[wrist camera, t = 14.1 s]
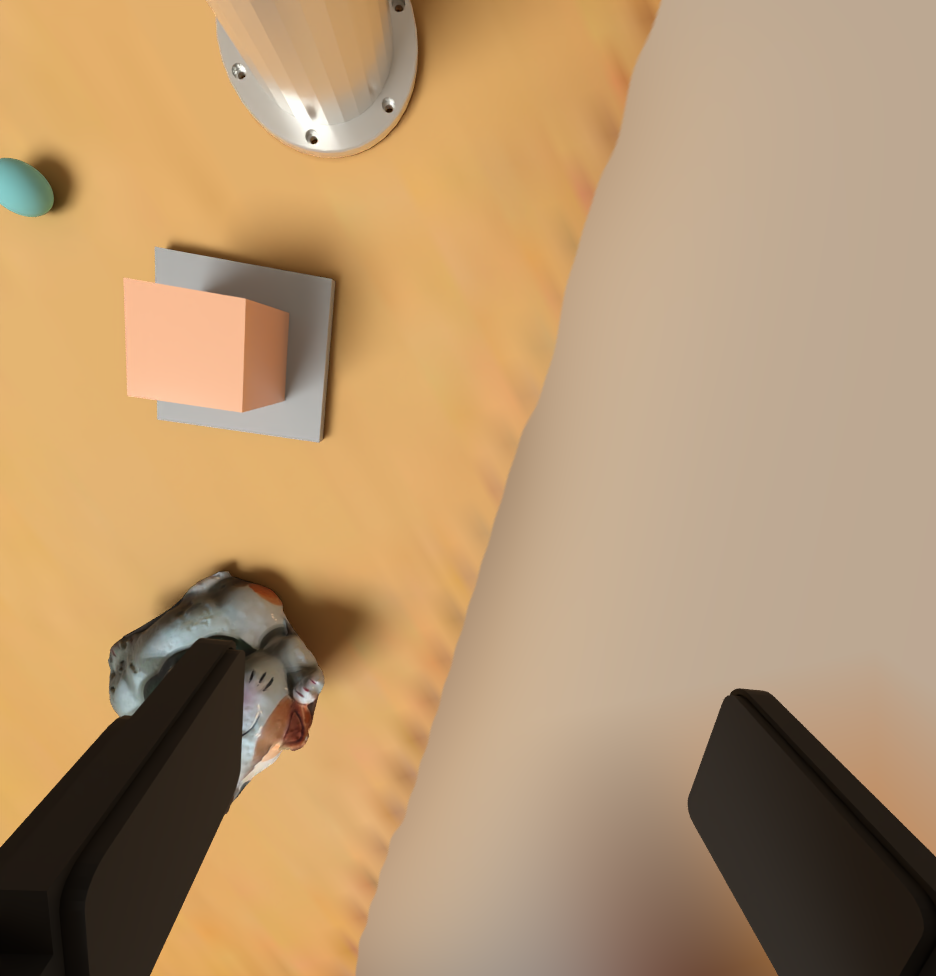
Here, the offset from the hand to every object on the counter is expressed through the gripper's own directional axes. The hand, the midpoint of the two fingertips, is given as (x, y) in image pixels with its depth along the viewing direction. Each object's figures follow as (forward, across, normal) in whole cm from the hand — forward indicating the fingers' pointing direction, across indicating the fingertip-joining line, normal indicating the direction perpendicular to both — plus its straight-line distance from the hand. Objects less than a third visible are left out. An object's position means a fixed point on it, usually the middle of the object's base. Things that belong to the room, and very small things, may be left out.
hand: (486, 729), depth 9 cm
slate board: (+30, +16, -5) cm, 35 cm away
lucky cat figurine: (+31, +16, +20) cm, 40 cm away
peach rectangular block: (+29, +16, -5) cm, 34 cm away
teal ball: (+30, +30, -13) cm, 45 cm away
